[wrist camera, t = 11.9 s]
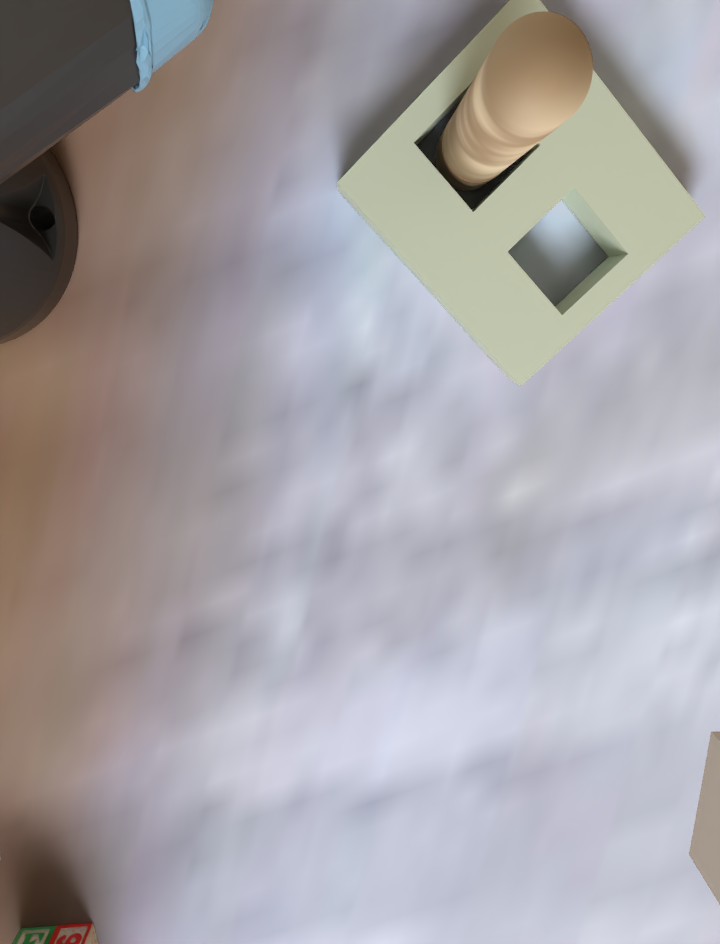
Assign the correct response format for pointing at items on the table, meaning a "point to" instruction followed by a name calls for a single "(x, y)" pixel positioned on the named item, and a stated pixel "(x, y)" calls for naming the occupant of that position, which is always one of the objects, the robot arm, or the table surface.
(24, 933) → the stack of blocks
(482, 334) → the board
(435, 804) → the table surface
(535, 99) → the peg
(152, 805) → the table surface
